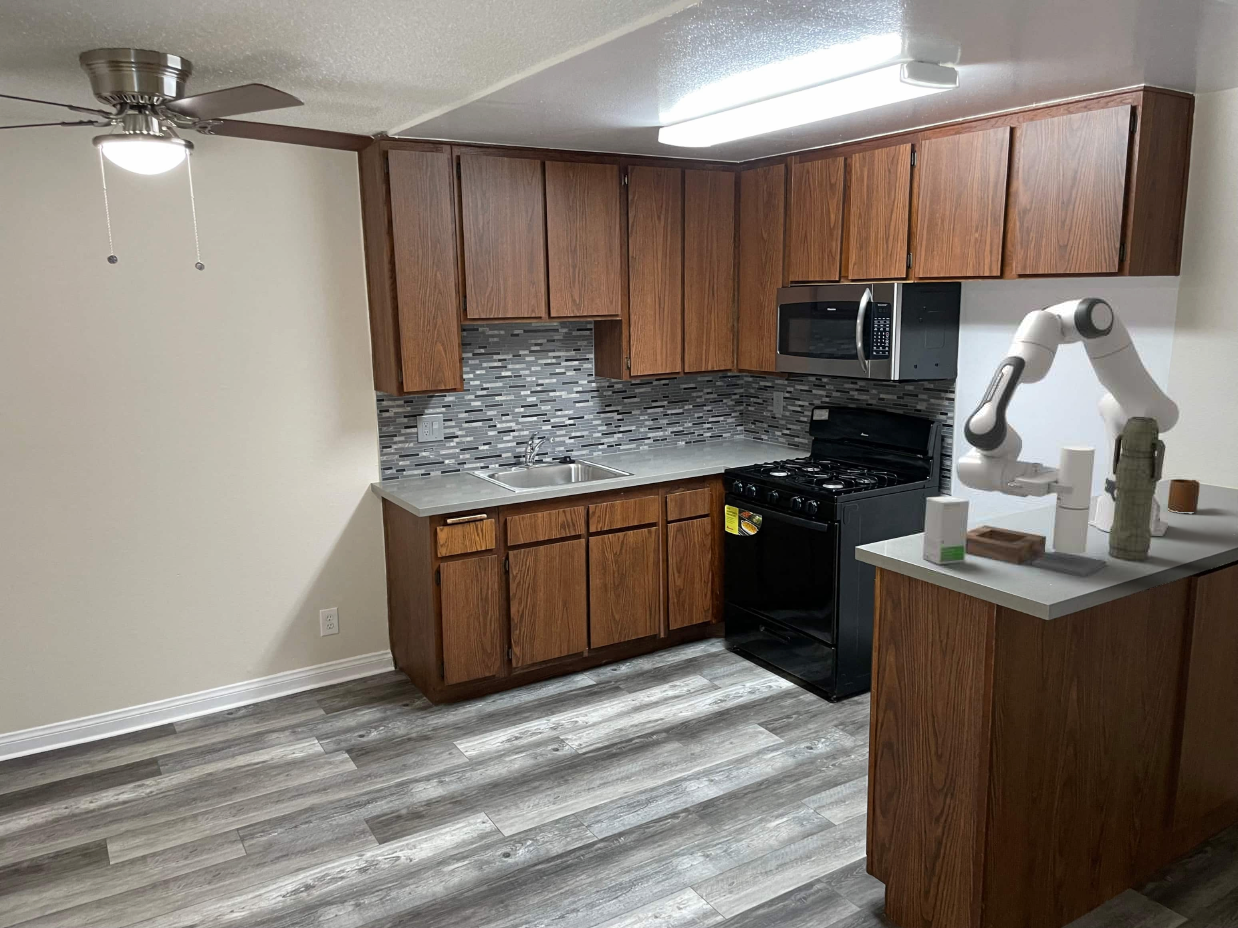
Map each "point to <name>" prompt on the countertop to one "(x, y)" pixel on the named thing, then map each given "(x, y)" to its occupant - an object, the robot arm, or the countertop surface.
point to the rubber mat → (1069, 563)
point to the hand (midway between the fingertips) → (1079, 487)
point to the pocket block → (1004, 544)
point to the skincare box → (945, 529)
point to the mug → (1183, 495)
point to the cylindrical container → (1073, 499)
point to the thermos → (1135, 487)
